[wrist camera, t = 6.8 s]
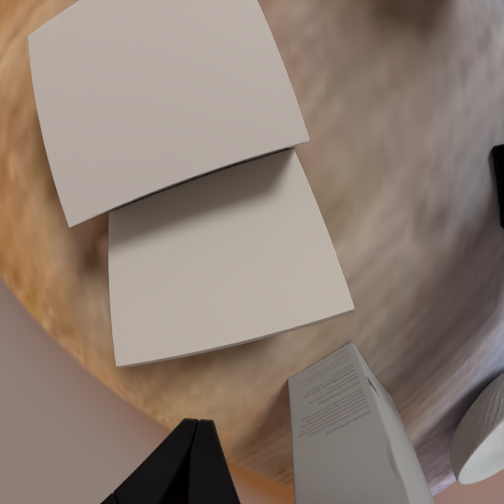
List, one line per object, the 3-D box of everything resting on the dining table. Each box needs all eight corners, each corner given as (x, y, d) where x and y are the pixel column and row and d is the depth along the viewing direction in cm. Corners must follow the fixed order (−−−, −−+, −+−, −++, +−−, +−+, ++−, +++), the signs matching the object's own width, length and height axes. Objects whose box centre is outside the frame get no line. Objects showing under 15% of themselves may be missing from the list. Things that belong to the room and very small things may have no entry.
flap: (295, 159, 17) (352, 313, 13) (117, 220, 18) (126, 368, 14) (293, 148, 16) (354, 308, 12) (109, 213, 17) (116, 366, 13)
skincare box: (391, 394, 22) (455, 536, 8) (332, 429, 23) (364, 574, 9) (347, 334, 20) (429, 523, 6) (278, 378, 21) (293, 569, 7)
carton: (295, 146, 17) (310, 140, 12) (110, 210, 18) (69, 227, 13) (234, -16, 14) (227, -60, 9) (69, 54, 15) (28, 36, 10)
